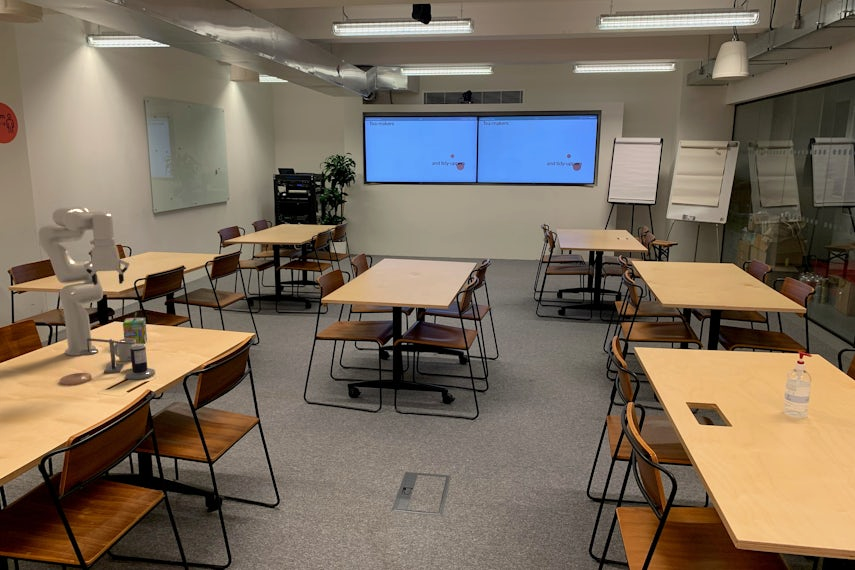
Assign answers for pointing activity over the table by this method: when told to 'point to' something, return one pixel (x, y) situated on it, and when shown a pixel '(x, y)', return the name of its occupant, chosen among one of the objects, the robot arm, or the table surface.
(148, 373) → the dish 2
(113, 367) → the balance
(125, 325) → the green printed box
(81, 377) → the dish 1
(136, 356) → the beverage can
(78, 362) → the table surface
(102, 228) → the robot arm
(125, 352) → the cup
